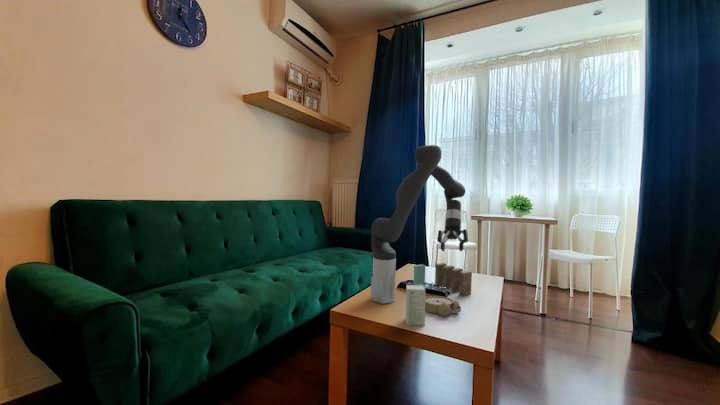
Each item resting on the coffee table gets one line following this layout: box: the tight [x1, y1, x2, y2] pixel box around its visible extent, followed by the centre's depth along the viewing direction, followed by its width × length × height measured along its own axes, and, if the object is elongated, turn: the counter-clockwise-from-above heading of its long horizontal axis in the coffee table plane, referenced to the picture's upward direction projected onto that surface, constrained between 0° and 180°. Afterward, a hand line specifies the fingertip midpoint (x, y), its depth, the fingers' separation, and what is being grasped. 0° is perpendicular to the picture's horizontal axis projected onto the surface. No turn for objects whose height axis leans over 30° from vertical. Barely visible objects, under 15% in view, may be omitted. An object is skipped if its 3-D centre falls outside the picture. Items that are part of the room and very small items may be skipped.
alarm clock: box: [425, 295, 462, 317], centre depth 106 cm, size 11×5×15 cm
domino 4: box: [458, 270, 473, 297], centre depth 123 cm, size 2×5×10 cm, turn 118°
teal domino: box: [413, 264, 426, 285], centre depth 133 cm, size 2×5×10 cm, turn 118°
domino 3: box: [450, 267, 464, 293], centre depth 128 cm, size 2×5×10 cm, turn 118°
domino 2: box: [442, 264, 455, 289], centre depth 132 cm, size 2×5×10 cm, turn 118°
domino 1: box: [434, 262, 447, 286], centre depth 137 cm, size 2×5×10 cm, turn 118°
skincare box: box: [405, 284, 426, 326], centre depth 95 cm, size 6×4×12 cm
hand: (451, 250), depth 137 cm, fingers open, 8 cm apart
